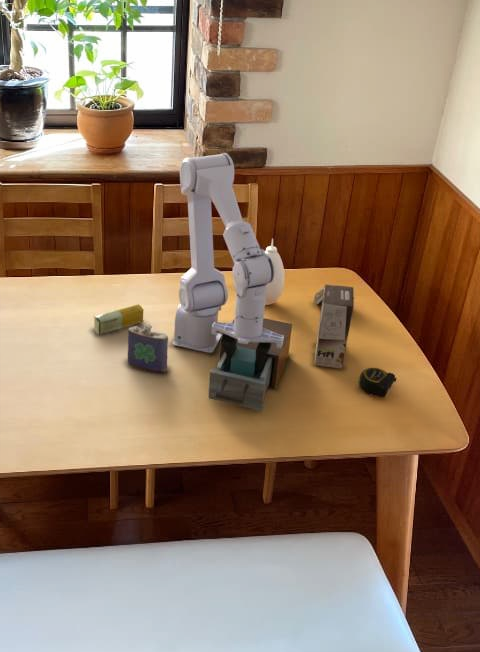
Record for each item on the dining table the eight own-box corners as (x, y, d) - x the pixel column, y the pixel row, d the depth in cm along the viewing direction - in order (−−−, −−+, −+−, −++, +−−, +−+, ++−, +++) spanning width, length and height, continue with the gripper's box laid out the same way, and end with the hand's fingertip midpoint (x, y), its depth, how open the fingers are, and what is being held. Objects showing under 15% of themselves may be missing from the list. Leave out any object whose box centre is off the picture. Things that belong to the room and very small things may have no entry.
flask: (168, 368, 176) (169, 327, 170) (163, 375, 174) (164, 334, 168) (130, 358, 179) (130, 318, 173) (125, 365, 176) (124, 324, 170)
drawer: (254, 427, 158) (257, 400, 154) (199, 414, 161) (201, 387, 157) (275, 377, 172) (278, 351, 169) (224, 366, 175) (226, 340, 172)
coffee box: (342, 369, 177) (354, 307, 168) (313, 365, 178) (323, 303, 169) (343, 347, 184) (354, 286, 175) (315, 343, 185) (324, 282, 176)
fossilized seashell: (362, 304, 196) (335, 292, 204) (352, 285, 192) (325, 274, 200) (340, 325, 195) (315, 312, 203) (330, 306, 191) (304, 294, 200)
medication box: (98, 336, 186) (98, 322, 184) (93, 329, 188) (93, 316, 185) (143, 322, 191) (144, 308, 189) (138, 316, 193) (138, 302, 190)
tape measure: (383, 403, 167) (386, 388, 165) (352, 391, 170) (355, 377, 168) (394, 387, 172) (398, 373, 170) (364, 376, 175) (367, 362, 173)
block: (252, 382, 164) (254, 363, 161) (229, 377, 165) (231, 358, 163) (257, 370, 168) (259, 351, 165) (235, 365, 169) (237, 346, 166)
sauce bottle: (283, 311, 197) (291, 245, 187) (251, 310, 197) (257, 244, 187) (279, 295, 204) (287, 231, 194) (249, 294, 204) (255, 230, 194)
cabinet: (274, 389, 170) (278, 355, 166) (218, 376, 174) (220, 343, 169) (288, 355, 181) (292, 323, 176) (234, 344, 184) (237, 312, 180)
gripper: (208, 314, 157) (205, 371, 165) (280, 329, 153) (273, 386, 161) (218, 298, 163) (214, 353, 170) (288, 311, 159) (281, 367, 166)
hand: (244, 368), depth 166 cm, fingers closed on block, 5 cm apart
